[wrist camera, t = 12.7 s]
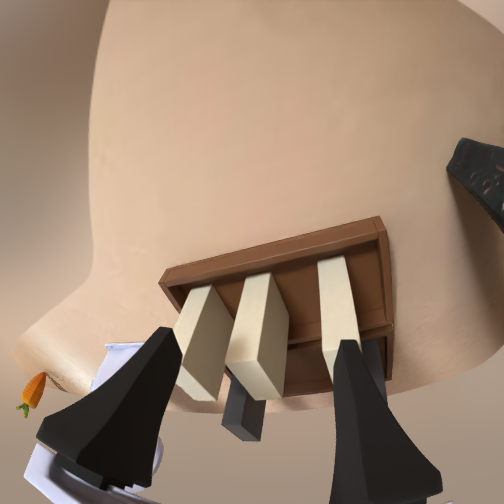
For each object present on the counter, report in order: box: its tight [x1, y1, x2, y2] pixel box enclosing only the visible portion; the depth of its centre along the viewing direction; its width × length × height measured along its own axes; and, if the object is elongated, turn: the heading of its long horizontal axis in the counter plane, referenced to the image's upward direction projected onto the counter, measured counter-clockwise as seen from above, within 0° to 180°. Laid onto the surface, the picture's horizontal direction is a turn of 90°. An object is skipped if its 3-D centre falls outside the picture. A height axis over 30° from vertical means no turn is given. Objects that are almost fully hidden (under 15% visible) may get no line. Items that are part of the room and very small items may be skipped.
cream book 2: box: [225, 271, 289, 400], centre depth 19 cm, size 2×5×8 cm, turn 21°
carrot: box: [16, 372, 46, 418], centre depth 45 cm, size 5×5×15 cm
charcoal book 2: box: [360, 338, 388, 406], centre depth 21 cm, size 2×5×8 cm, turn 21°
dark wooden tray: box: [224, 324, 393, 397], centre depth 26 cm, size 17×9×2 cm, turn 111°
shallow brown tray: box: [158, 216, 393, 345], centre depth 21 cm, size 17×9×2 cm, turn 111°
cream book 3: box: [317, 255, 362, 383], centre depth 17 cm, size 2×5×8 cm, turn 21°
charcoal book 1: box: [221, 374, 266, 441], centre depth 25 cm, size 2×5×8 cm, turn 21°
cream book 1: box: [173, 284, 235, 401], centre depth 21 cm, size 2×5×8 cm, turn 21°
